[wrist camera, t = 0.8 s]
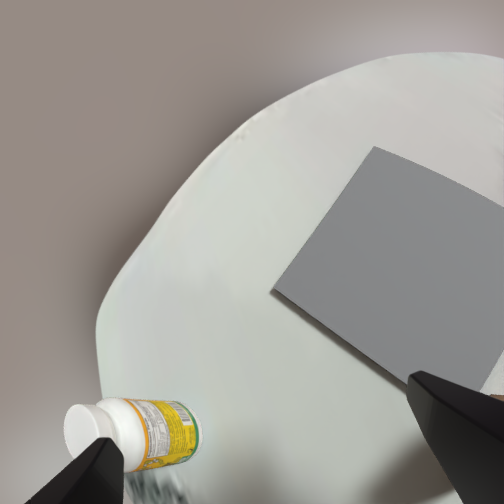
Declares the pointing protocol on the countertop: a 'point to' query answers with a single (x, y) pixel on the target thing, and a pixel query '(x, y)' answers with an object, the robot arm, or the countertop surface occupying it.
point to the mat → (408, 272)
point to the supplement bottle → (136, 430)
